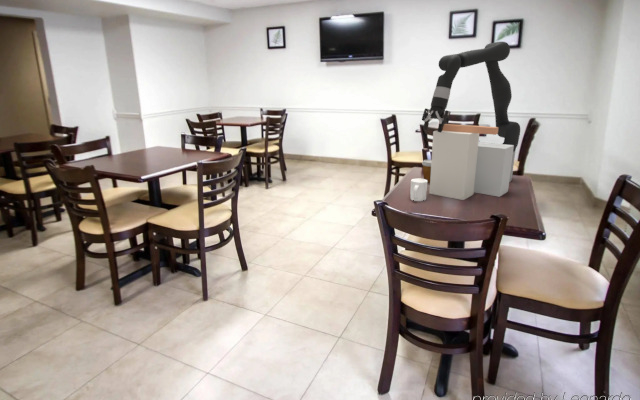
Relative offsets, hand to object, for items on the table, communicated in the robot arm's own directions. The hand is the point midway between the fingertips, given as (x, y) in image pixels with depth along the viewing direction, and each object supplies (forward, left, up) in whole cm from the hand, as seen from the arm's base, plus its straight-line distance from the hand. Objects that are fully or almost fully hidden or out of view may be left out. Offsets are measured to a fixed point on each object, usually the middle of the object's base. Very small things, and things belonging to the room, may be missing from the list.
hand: (432, 131), depth 188 cm
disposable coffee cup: (-22, -11, -32) cm, 40 cm away
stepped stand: (-15, +15, -32) cm, 39 cm away
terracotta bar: (-7, +15, 0) cm, 16 cm away
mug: (+11, 0, -32) cm, 34 cm away
